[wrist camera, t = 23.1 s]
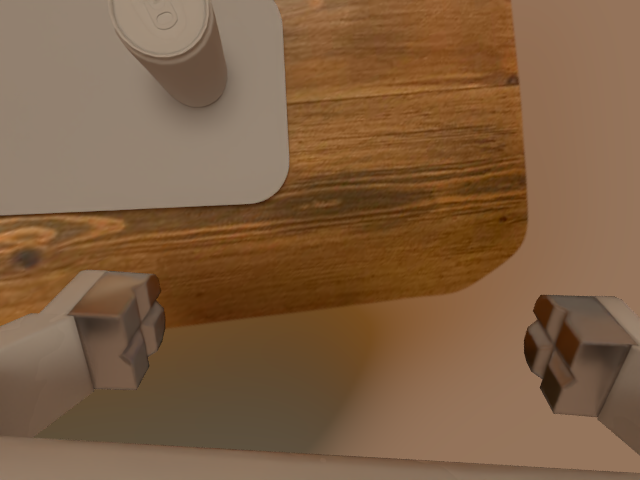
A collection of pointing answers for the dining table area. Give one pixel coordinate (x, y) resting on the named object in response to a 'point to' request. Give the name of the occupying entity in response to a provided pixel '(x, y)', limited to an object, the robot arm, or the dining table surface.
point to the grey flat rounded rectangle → (134, 115)
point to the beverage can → (175, 45)
